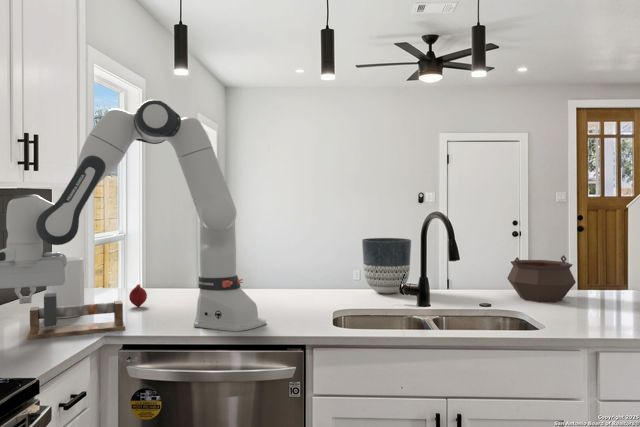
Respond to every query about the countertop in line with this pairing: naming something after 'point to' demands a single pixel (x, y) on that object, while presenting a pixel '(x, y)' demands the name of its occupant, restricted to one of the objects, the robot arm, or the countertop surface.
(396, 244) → the planter
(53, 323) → the collar
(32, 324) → the pipe rack
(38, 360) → the countertop surface
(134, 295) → the onion
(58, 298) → the cup
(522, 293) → the brown cauldron
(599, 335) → the countertop surface
